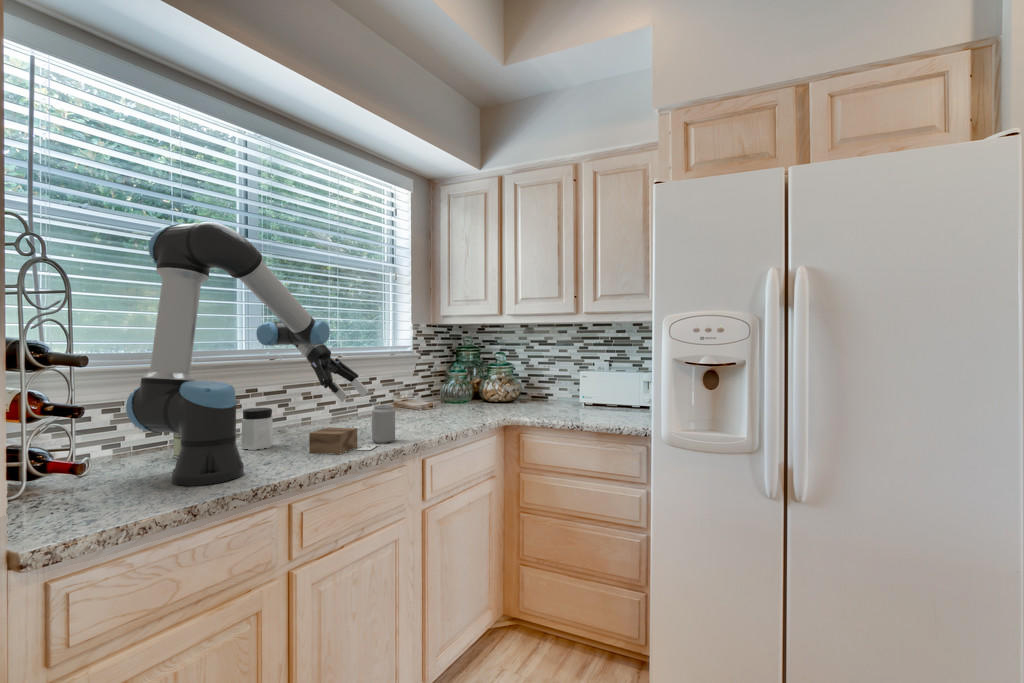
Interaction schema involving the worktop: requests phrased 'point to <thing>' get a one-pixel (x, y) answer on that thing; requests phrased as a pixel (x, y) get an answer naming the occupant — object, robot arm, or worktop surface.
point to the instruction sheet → (370, 446)
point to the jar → (257, 428)
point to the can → (383, 424)
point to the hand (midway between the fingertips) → (355, 396)
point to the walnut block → (332, 440)
